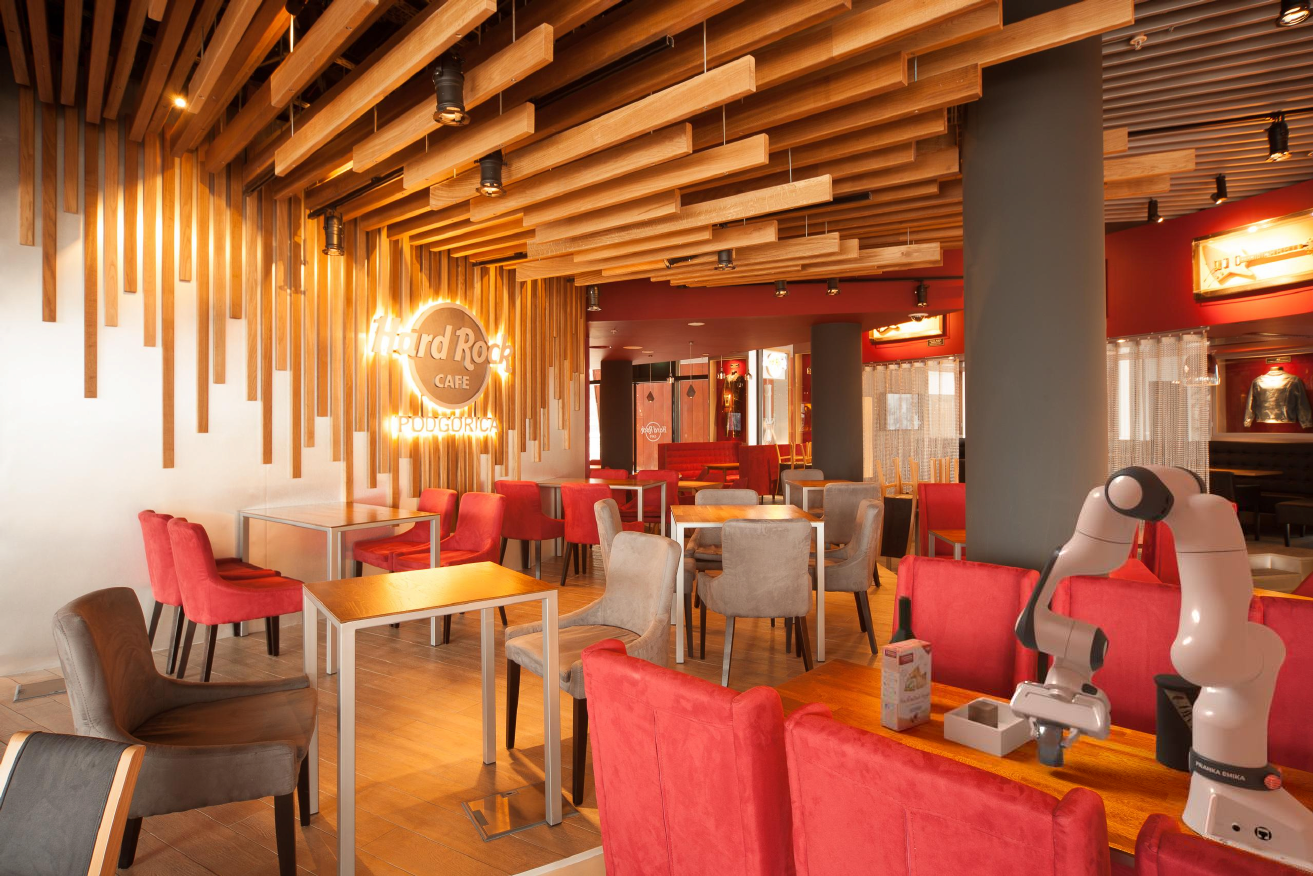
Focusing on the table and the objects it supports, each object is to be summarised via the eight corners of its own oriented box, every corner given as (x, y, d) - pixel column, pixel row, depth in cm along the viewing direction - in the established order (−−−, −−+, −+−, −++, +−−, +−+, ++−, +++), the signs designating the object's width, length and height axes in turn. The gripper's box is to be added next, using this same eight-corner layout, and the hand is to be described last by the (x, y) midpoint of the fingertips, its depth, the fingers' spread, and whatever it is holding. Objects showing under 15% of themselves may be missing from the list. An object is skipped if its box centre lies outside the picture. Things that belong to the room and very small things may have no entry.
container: (1182, 774, 158) (1181, 684, 158) (1144, 757, 166) (1144, 672, 167) (1211, 770, 160) (1211, 681, 160) (1172, 753, 169) (1172, 669, 169)
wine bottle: (882, 699, 203) (883, 595, 204) (904, 695, 207) (905, 592, 207) (904, 709, 196) (904, 600, 196) (926, 705, 199) (927, 598, 200)
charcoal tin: (1063, 760, 159) (1062, 724, 159) (1064, 769, 154) (1063, 731, 155) (1038, 756, 161) (1037, 720, 162) (1038, 764, 157) (1037, 727, 157)
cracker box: (899, 733, 179) (899, 650, 179) (879, 726, 184) (880, 645, 184) (932, 721, 187) (932, 642, 187) (912, 714, 192) (912, 637, 192)
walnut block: (997, 738, 174) (997, 705, 174) (988, 743, 171) (988, 710, 171) (977, 732, 178) (977, 700, 178) (968, 737, 175) (968, 704, 175)
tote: (1037, 736, 178) (1037, 712, 178) (1000, 757, 166) (1000, 731, 166) (982, 719, 189) (982, 696, 189) (944, 738, 176) (944, 714, 176)
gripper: (1015, 671, 171) (997, 722, 164) (1111, 692, 155) (1095, 749, 148) (1024, 686, 174) (1006, 736, 167) (1119, 708, 158) (1103, 765, 151)
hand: (1049, 743), depth 158 cm, fingers closed on charcoal tin, 5 cm apart
